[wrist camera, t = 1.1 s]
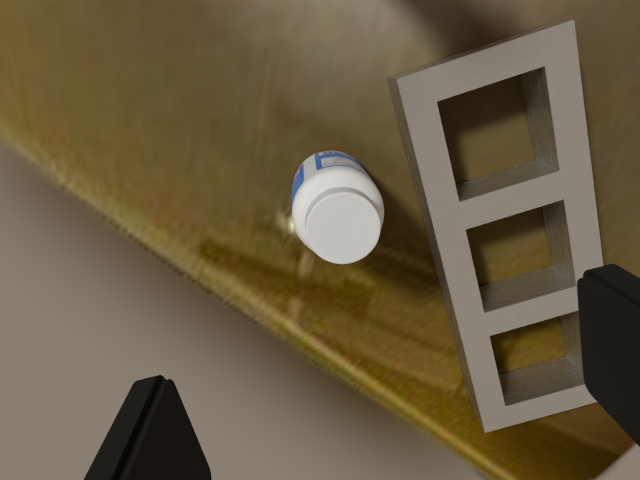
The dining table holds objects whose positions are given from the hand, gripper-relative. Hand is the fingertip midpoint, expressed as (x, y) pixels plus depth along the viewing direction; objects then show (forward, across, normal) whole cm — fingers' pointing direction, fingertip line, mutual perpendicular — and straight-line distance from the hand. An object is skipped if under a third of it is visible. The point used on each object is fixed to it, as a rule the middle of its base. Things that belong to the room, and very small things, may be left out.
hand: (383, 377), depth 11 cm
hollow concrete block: (+24, -12, +8) cm, 28 cm away
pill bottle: (+24, 0, +1) cm, 24 cm away
